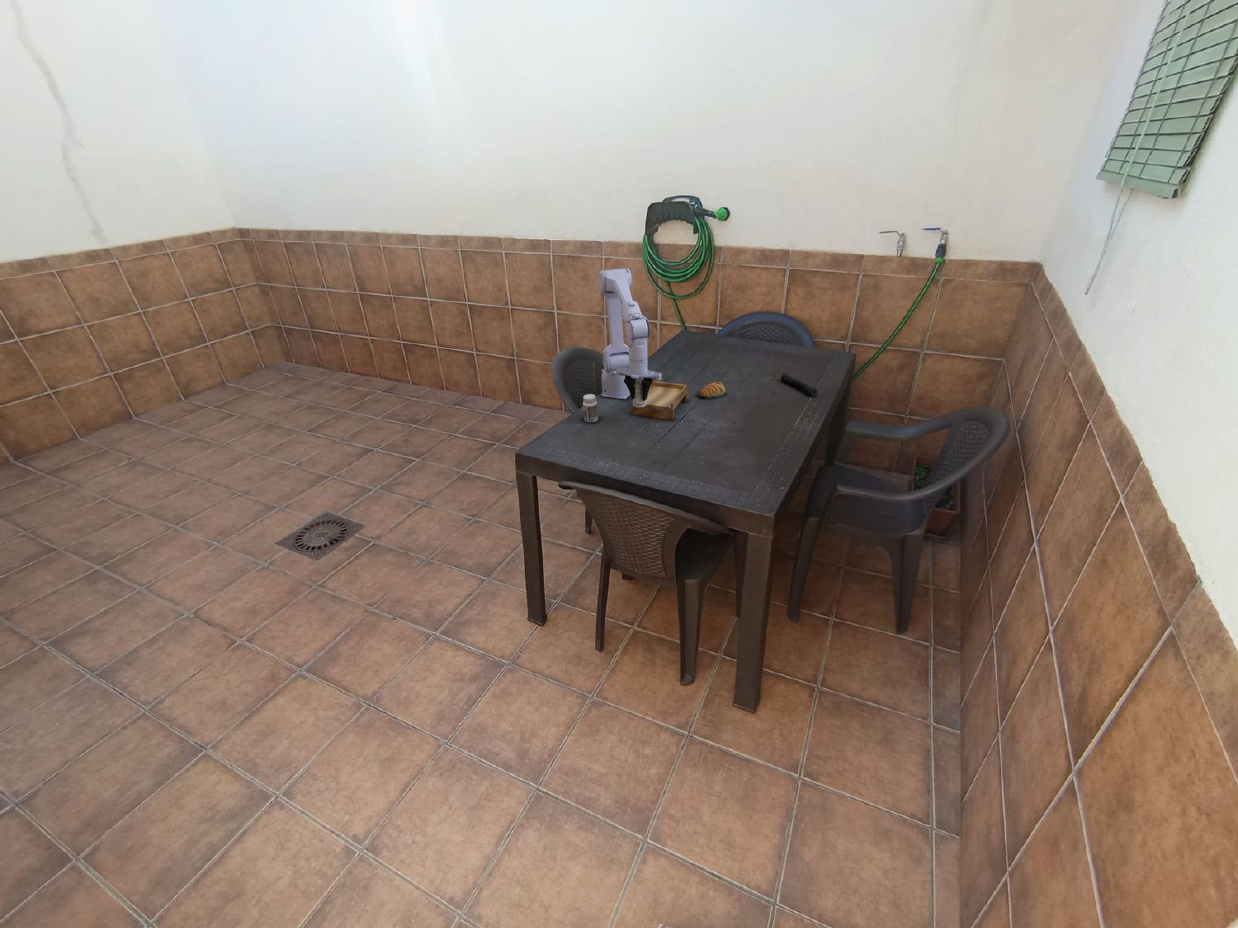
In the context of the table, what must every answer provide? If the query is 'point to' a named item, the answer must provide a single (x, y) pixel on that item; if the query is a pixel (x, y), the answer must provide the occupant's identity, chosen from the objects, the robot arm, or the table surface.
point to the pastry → (712, 390)
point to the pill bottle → (590, 408)
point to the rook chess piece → (638, 396)
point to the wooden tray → (662, 400)
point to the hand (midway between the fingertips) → (639, 398)
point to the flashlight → (798, 384)
